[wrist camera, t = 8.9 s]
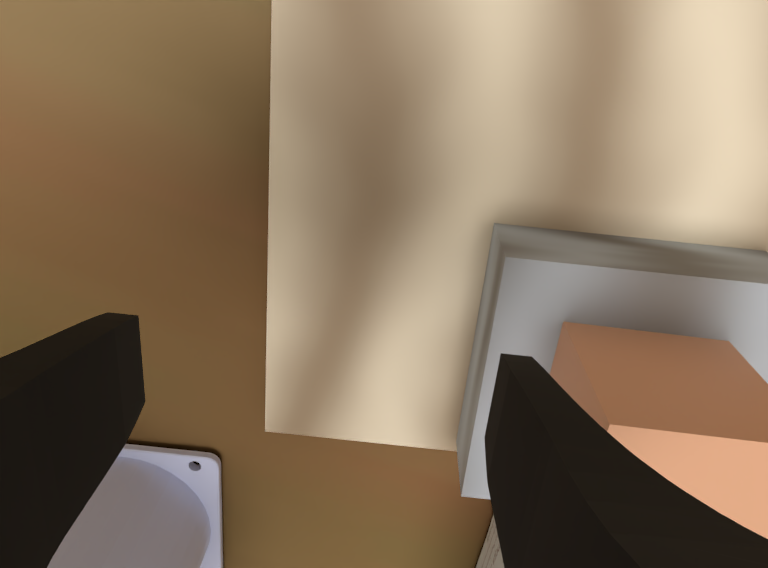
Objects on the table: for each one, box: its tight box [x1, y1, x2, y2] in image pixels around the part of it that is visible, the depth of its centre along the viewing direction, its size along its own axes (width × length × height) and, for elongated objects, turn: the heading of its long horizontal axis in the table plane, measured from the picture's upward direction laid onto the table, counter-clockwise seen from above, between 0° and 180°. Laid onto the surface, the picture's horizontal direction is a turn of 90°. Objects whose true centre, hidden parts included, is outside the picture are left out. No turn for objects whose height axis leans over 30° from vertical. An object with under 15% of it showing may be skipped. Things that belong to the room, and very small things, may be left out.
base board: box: [265, 0, 768, 499], centre depth 20 cm, size 18×18×4 cm
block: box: [550, 321, 768, 539], centre depth 18 cm, size 5×5×5 cm
